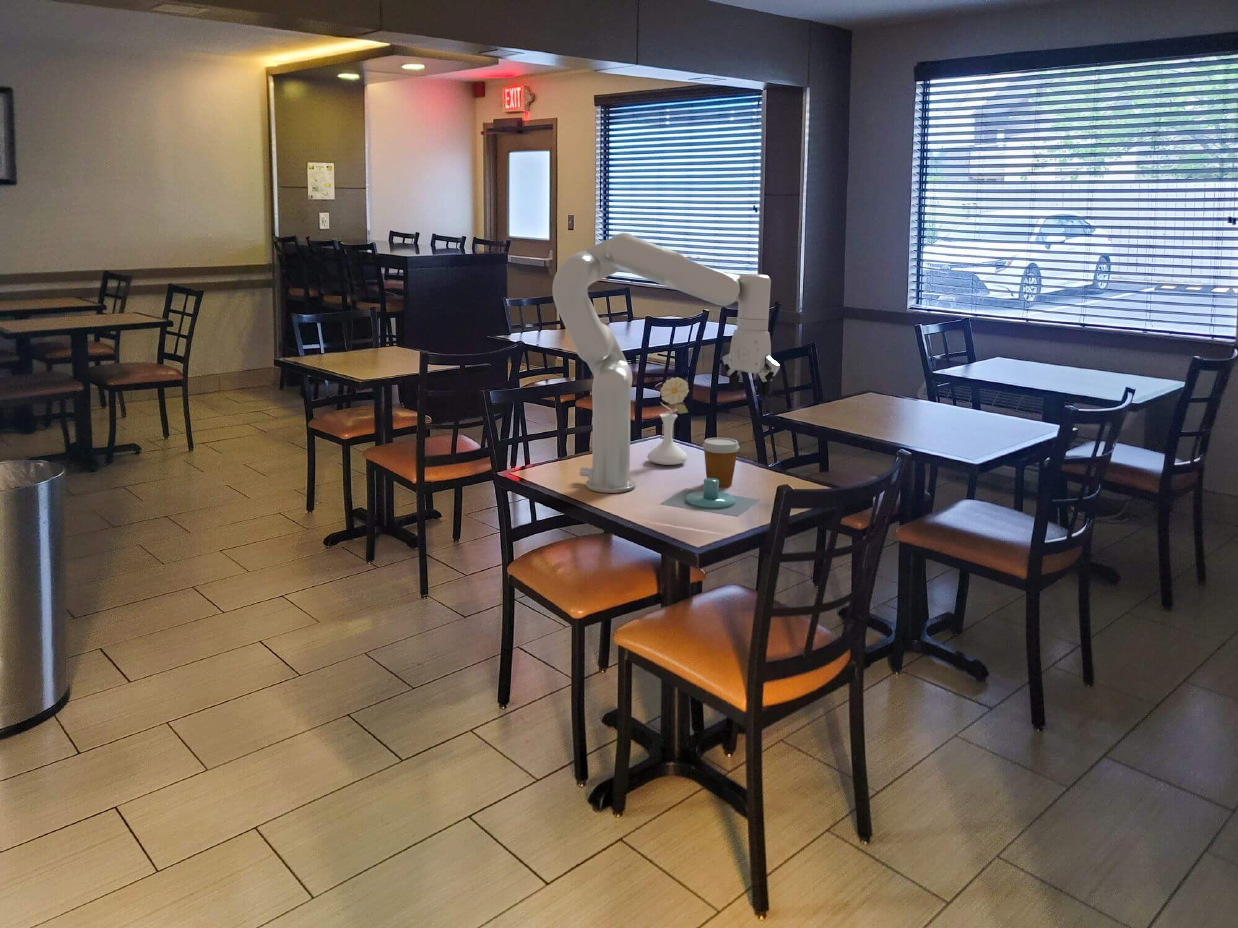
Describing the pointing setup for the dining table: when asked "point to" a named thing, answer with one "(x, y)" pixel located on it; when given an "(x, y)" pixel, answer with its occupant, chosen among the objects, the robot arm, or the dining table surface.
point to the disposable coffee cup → (720, 459)
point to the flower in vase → (670, 424)
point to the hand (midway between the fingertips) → (748, 394)
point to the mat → (734, 510)
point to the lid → (710, 496)
